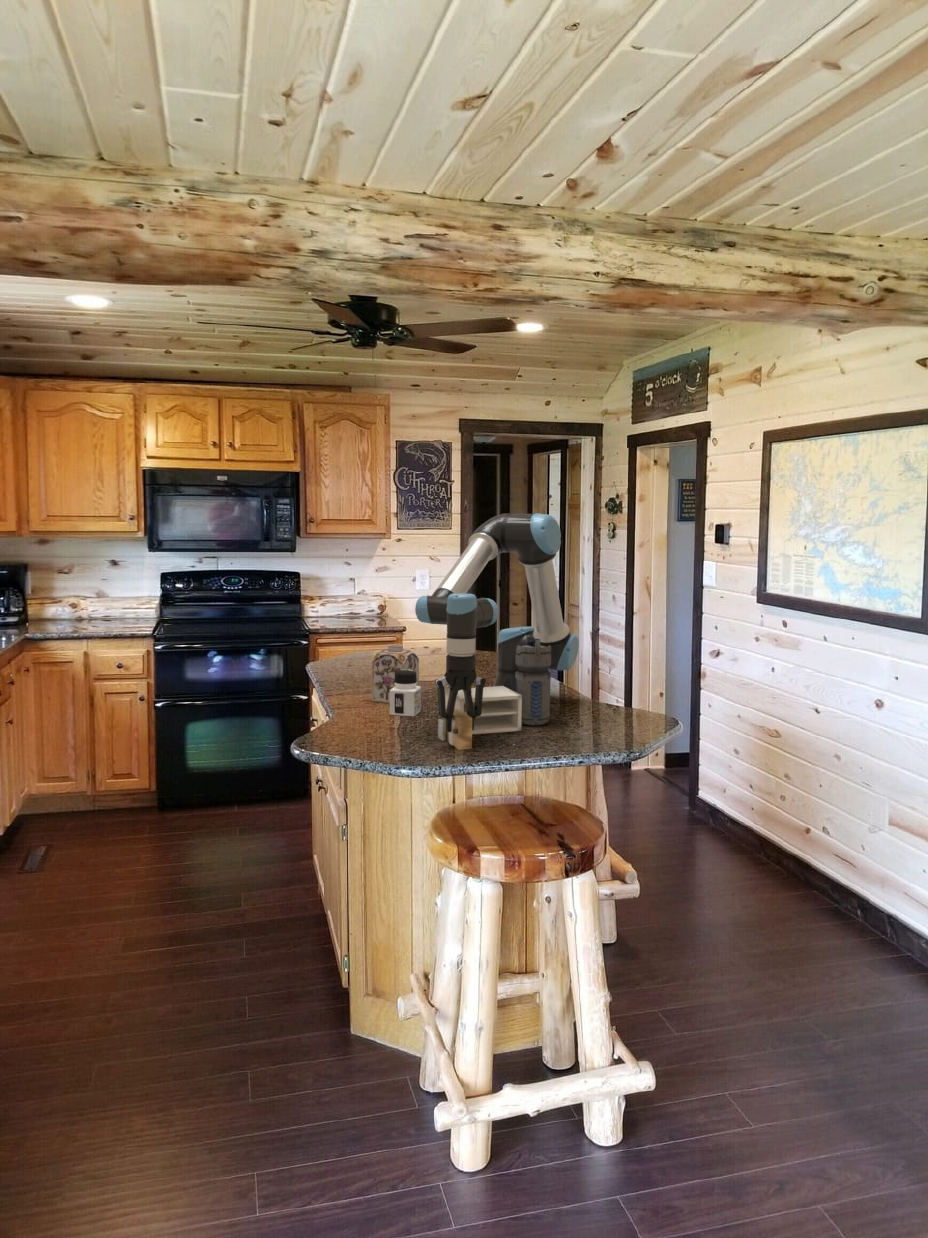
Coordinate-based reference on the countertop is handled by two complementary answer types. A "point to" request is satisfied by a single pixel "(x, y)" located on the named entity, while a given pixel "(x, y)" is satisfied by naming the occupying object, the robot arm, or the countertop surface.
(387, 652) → the decorative jar
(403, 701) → the container
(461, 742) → the oak door
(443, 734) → the bracket
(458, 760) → the countertop surface
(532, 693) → the beverage bottle
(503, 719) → the block
